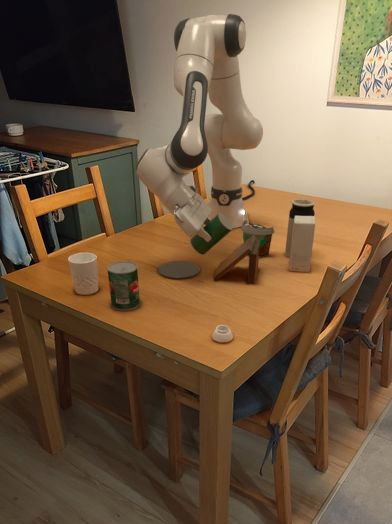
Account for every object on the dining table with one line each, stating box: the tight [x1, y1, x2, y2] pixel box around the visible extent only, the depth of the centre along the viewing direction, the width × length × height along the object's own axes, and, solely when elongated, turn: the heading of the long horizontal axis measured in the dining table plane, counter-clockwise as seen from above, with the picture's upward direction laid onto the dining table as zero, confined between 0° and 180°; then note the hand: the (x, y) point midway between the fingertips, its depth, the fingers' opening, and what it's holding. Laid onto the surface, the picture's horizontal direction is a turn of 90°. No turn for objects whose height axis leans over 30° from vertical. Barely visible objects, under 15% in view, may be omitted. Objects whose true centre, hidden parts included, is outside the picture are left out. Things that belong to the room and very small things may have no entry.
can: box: [189, 213, 234, 256], centre depth 139 cm, size 6×13×13 cm, turn 78°
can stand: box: [213, 235, 260, 285], centre depth 142 cm, size 12×12×11 cm
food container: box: [240, 220, 275, 258], centre depth 156 cm, size 12×6×10 cm, turn 47°
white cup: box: [67, 252, 99, 296], centre depth 133 cm, size 8×8×10 cm
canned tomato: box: [106, 260, 141, 312], centre depth 125 cm, size 8×8×11 cm
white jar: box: [211, 324, 234, 343], centre depth 112 cm, size 5×3×5 cm
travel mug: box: [284, 198, 316, 258], centre depth 153 cm, size 8×8×18 cm
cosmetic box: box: [289, 215, 316, 273], centre depth 145 cm, size 8×7×16 cm
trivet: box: [158, 260, 201, 280], centre depth 147 cm, size 13×13×1 cm
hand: (212, 235), depth 140 cm, fingers closed on can, 6 cm apart
